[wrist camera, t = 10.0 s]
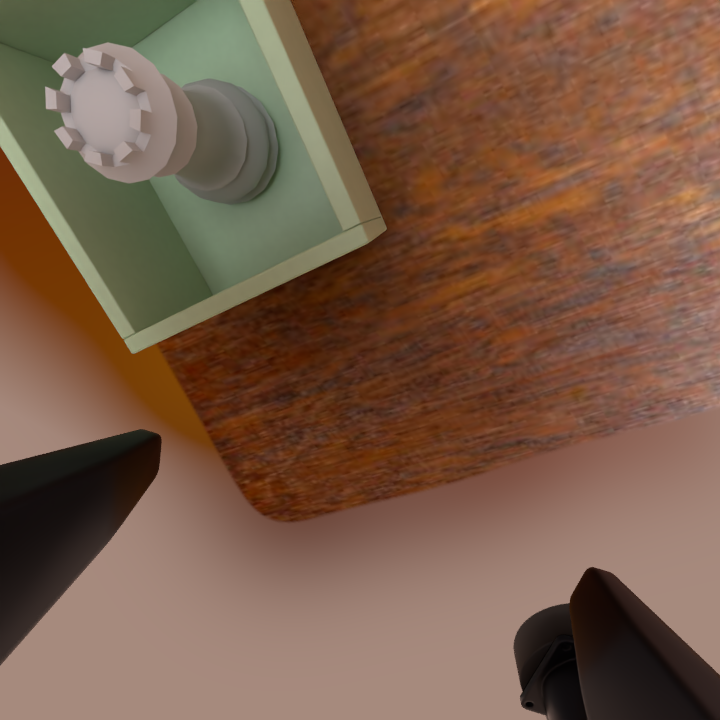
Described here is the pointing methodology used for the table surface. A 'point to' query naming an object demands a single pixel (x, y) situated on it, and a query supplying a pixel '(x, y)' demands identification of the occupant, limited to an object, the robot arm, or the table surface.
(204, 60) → the bin
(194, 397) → the table surface
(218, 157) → the rook chess piece
